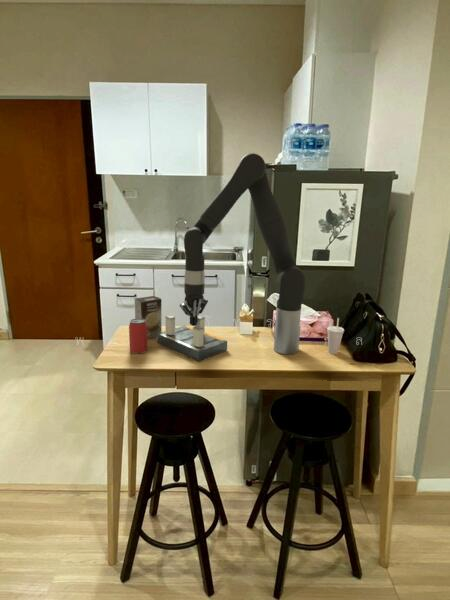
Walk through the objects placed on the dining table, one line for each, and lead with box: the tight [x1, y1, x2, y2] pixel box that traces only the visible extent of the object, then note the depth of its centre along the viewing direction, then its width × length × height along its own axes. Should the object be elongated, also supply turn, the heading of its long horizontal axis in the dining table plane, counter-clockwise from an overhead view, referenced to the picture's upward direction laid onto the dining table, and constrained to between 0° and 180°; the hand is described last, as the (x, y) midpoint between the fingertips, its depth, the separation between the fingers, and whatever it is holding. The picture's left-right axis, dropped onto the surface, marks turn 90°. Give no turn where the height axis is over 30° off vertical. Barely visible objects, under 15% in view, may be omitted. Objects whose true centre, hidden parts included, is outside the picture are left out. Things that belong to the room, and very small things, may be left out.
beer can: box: [128, 318, 149, 354], centre depth 152 cm, size 7×7×12 cm
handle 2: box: [192, 326, 205, 347], centre depth 149 cm, size 2×3×7 cm
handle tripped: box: [194, 315, 206, 331], centre depth 160 cm, size 2×3×7 cm
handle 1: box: [164, 315, 176, 335], centre depth 159 cm, size 2×3×7 cm
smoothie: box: [326, 317, 345, 355], centre depth 156 cm, size 6×6×14 cm
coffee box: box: [134, 295, 163, 340], centre depth 167 cm, size 9×6×16 cm
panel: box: [156, 324, 228, 363], centre depth 158 cm, size 15×24×4 cm, turn 47°
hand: (193, 325), depth 157 cm, fingers closed
